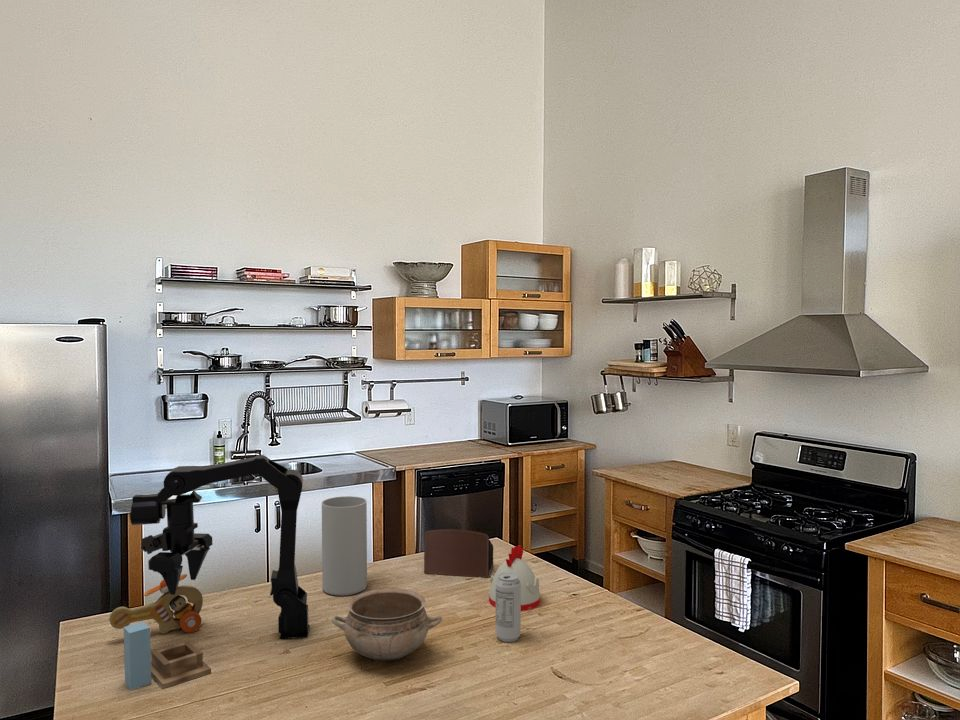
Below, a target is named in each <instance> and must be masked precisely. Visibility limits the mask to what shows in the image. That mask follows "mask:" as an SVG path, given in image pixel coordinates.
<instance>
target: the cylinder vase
mask: <svg viewBox="0 0 960 720" xmlns="http://www.w3.org/2000/svg"><path fill="white" fill-rule="evenodd" d="M367 510H368V509H367V499H366V498H364V497H360V496H351V495H349V496H348V495H347V496H346V495H345V496H335V497H330V498H326V499H324V500H322V501H321V560H322V562H321V565H322V566H321V573H322V575H321V577H322V578H321V580H322V581H321V583H322V586H321V587H322V590H323V591H324V592H325V593H326V594H328V595H332V596H338V597H340V596H341V597H342V596H345V597H346V596H353V595H356V594H360V593H361V592H363V591H364V590H366V589H367V586H368V539H367V538H368V537H367V536H368V534H367V533H368V530H367V529H368V527H367V526H368V525H367V524H368V523H367V522H368V519H367V518H368V515H367V512H368V511H367Z"/></svg>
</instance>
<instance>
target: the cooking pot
mask: <svg viewBox="0 0 960 720" xmlns="http://www.w3.org/2000/svg"><path fill="white" fill-rule="evenodd" d="M425 606H426V599H425V597H424V596H423V595H422V594H420V593H418V592H416V591H413V590H410V589H409V590H408V589H405V588H404V589H403V588H379V589H372V590H369V591H365V592H362V593H361V592H360V593H358V594H357V595H354V597H352V598H351V599H350V600H349V601H348V604H347V608H348V610H349V611H348V613H347V616H346V617H342V616H339V615H334V616H333V617H332V618H331V623H332V624H333V625H335V627H337V628H338V629H340V630H342V631H344V634H345V638H346V641H347V643H348V644H349V646H350V647H351V648H352V649H353V651H354V652H357V653H358V654H359V655H361V656H364V657H366V658H368V659H371V660H374V661H376V662H379V663H391V662H395V661H398V660H399V659H401V658H403V657H406V656H408V655H410V654H412V653H414V652H415V651H416V650H418V648H420V646H421V645H422V644H423V642H425V639H426V637H427V635H428V632H429V630H431V629H433V628H435V627H437V626H438V625H440V624H441V622H442V620H443V618H442V616H440V615H438V616H433V617H431V616H428V613H427V611H426V609H425ZM338 621H339V622H338ZM340 622H341V623H340Z"/></svg>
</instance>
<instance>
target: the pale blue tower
mask: <svg viewBox="0 0 960 720" xmlns="http://www.w3.org/2000/svg"><path fill="white" fill-rule="evenodd" d="M123 658H124V659H123V660H124V661H123V662H124V683H125V685H126V686H127V687H128V688H129V690H130V691H133V690H135V689H139V688H143V687H145V686H148V685H151V684H152V676H151V661H152V650H151V627H150V626H149V625H148V624H147V623H146V622H144V621H140V622H137V623H133V624H129V625H128V626H126V627H124V628H123Z"/></svg>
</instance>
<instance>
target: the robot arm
mask: <svg viewBox="0 0 960 720" xmlns="http://www.w3.org/2000/svg"><path fill="white" fill-rule="evenodd" d="M253 475H254V476H255V475H258V476H260V477H261V478H263V480H265V481H266V482H267V483H269V485H270V486H272V487H274V488H275V489H277V495H278V501H279V505H280V511H281V512H280V513H281V515H280V516H281V517H280V536H279V537H280V540H279V560H278V561H279V563H278V569H277V570H272V571H271V577H270V583H271V585H270V586H271V588H270V592H269V596H270V597H271V596H272V601H273V602H274V604H275V605H276V606H278V607H280V612H279V614H278V619H277V621H278V623H277V626H278V627H277V630H278V635H279V639H281V640H284V639H285V640H286V639H299V638H300V639H301V638H307V637H308V636H309V631H310V624H309V604H308V603H307V601H308V592H307V591H306V590H304V589H303V588H302V587H301V586H300V585H299V580H298V573H297V568H296V564H295V563H296V540H297V521H298V520H297V518H298V517H297V516H298V508H299V503H300V500H301V495H302V491H303V483H304V478H303V474H301V473H300V472H299V471H298V470H297V469H288V468H287V467H286V466H283V465H282V464H280V463H278V462H276V461H274V460H272V459H271V458H268V456H266V455H264V454H259V455H256V456H253V457H248V458H242V459H237V460H233V461H228V462H222V463H218V464H217V463H216V464H213V465H206V466H201V465H180V466H179V465H178V466H176V467H174V468H172V470H170V471H169V473H167V474H166V476H165V477H164V480H163V487H162V488H161V489H160V490H159V491H158V492H157V494H145V495H144V494H135V495H134V496H132V503H131V507H130V508H131V509H130V512H129V518H130V519H129V520H130V524H131V525H132V526H139V525H140V526H143V525H153V524H156V525H157V524H160V523H161V520H162V519H163V520H164V519H165V517H166V519H167V521H166V523H167V524H166V525H167V526H166V527H164V528H162V529H163V530H162V532H161V533H159V534H155V535H152V534H150V535H148V536H145V537H143V538H141V545H140V546H141V547H140V549H141V550H142V551H143V552H144V553H147V555H150V554H152V553H154V552H156V551H159V550H161V549H162V550H161V551H160V552H158V553H156V554H154V555H152V556H151V557H150V558H149V559H148V560H147V563H148V570H149V571H153V572H154V573H158V574H160V575H161V577H162V578H163V579H162V580H164V581H165V583H166V585H167V588H168V590H169V592H170V594H171V595H175V594H176V591H177V588H178V586H179V583H180V581H179V580H180V576H181V575H182V572H183V565H182V563H183V556H185V557H186V558H187V564H188V571H189V573H188V574H189V577H190V580H191V581H195V580H196V579H197V578H198V575H199V573H200V570H201V568H202V565H203V563H204V561H205V558H206V556H207V555H208V552H209V550H210V549H211V548H210V547H211V546H213V536H212V535H210V533H201V532H200V533H197V532H196V533H195V529H197V528H199V524H198V522H195V520H194V518H195V517H194V515H195V514H194V504H196V503H197V504H198V503H200V502H201V500H202V499H203V497H202V495H200V494H198V492H197V491H196V490H197V489H198V488H201V487H203V486H206V485H209V484H213V483H219V482H223V481H229V480H233V479H239V478H243V477H249V476H253ZM189 492H191V493H190V494H188V493H189ZM173 496H176V497H175V498H172V497H173ZM167 551H169V552H167Z"/></svg>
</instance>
